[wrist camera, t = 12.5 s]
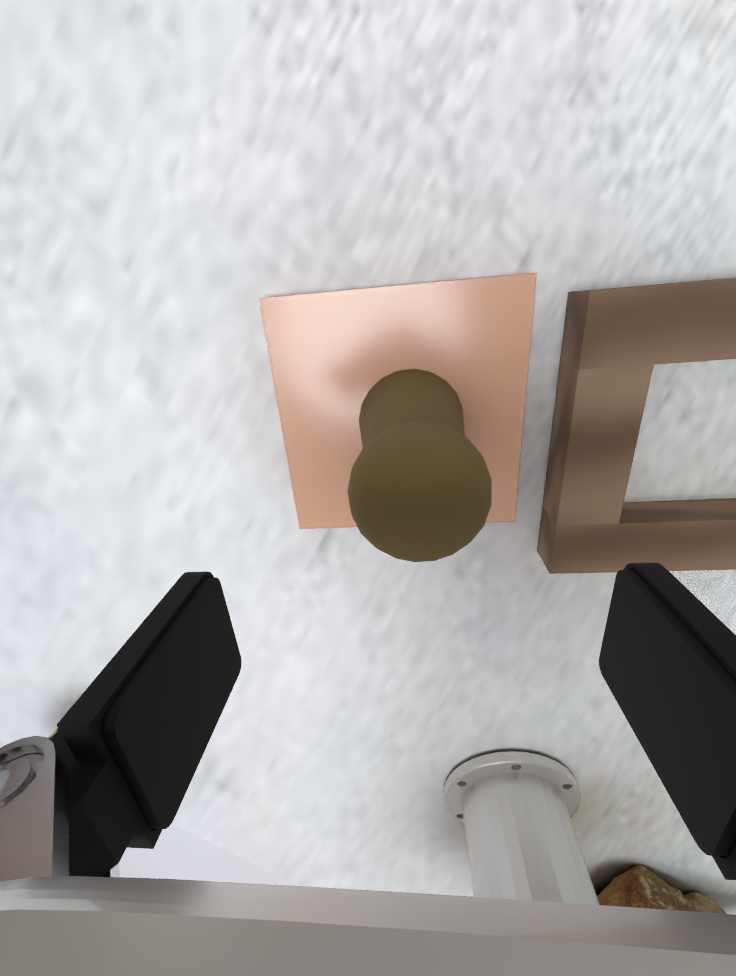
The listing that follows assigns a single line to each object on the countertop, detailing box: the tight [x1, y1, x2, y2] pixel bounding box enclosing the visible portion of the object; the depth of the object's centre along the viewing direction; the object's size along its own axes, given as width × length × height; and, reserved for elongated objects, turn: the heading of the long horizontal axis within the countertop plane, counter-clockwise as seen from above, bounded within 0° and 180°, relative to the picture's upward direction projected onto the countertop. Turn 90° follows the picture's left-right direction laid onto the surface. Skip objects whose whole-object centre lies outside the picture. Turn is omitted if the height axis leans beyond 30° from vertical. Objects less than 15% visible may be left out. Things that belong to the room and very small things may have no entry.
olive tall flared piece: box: [347, 369, 492, 562], centre depth 18 cm, size 6×6×11 cm
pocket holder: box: [537, 278, 736, 574], centre depth 22 cm, size 16×16×2 cm
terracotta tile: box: [259, 273, 537, 529], centre depth 23 cm, size 14×14×1 cm
